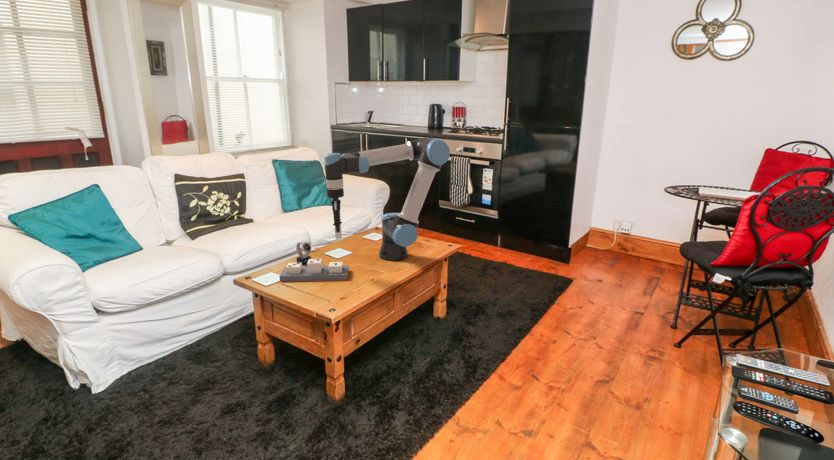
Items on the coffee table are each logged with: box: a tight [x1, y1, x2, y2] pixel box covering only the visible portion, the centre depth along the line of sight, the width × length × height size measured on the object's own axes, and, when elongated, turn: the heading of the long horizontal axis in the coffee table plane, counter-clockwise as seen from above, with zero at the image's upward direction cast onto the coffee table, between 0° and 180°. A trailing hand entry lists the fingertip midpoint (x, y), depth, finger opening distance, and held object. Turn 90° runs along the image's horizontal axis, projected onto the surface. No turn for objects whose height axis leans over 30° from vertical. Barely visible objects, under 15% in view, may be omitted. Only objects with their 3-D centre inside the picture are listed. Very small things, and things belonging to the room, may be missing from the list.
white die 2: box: [327, 261, 344, 273], centre depth 209 cm, size 6×6×5 cm
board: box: [279, 265, 350, 282], centre depth 209 cm, size 30×12×2 cm, turn 94°
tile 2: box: [306, 258, 323, 274], centre depth 208 cm, size 6×6×5 cm
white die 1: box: [285, 262, 303, 274], centre depth 208 cm, size 6×6×5 cm
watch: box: [295, 240, 312, 266], centre depth 225 cm, size 6×8×11 cm
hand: (338, 238), depth 209 cm, fingers closed
